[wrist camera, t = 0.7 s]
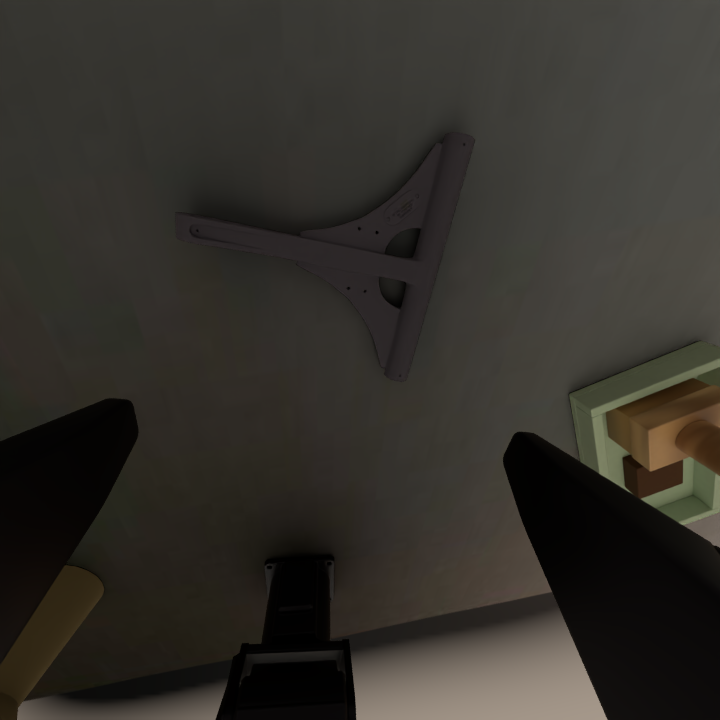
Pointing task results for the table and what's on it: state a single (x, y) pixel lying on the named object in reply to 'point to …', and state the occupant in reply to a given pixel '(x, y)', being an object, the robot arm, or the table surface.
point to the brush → (670, 426)
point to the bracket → (368, 249)
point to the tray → (591, 403)
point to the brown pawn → (46, 635)
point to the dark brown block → (650, 477)
